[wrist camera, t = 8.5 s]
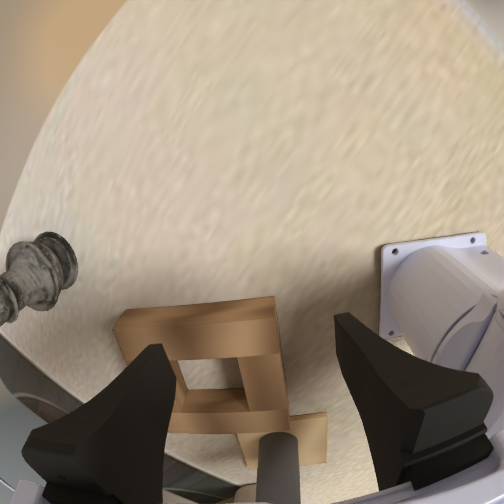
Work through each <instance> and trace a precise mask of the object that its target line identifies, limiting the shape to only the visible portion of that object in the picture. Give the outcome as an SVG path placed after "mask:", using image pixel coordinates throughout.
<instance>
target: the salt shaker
mask: <svg viewBox="0 0 504 504" xmlns="http://www.w3.org/2000/svg"><path fill="white" fill-rule="evenodd" d="M77 275H78V264H77V258H76V256H75V253H74V251H73V249H72V248H71V246H70V244H69V243H68V242H67V241H66V240H65V239H64V238H63V237H62V236H60V235H59V234H57V233H54V232H44V233H42V234H40V235H39V236H38V237H37V238H36V239H35V241H34V242H18V243H16V244H14V245H13V246H12V247H11V248H10V249H9V252H8V254H7V259H6V272H4V273H3V274H1V275H0V326H2V325H3V324H4V323H5V322H8V323H12V322H14V321H15V320H16V319H17V317H18V312H19V311H20V310H22V309H23V308H24V307H25V306H26V305H27V306H28V307H30V308H32V309H34V310H37V311H48V310H50V309H51V308H53V307H54V305H55V304H56V302H57V300H58V296H59V294H60V292H61V290H63V289H67V288H69V287H70V286H72V285H73V284H74V282H75V281H76V278H77Z"/></svg>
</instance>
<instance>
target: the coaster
mask: <svg viewBox="0 0 504 504" xmlns="http://www.w3.org/2000/svg"><path fill="white" fill-rule="evenodd" d="M289 422H290V430H288V431H276V432H286V433H290V434H292V435H294V436H295V437H296V438H297V439H298V453H299V466H302V465H312V464H320V463H326V459H327V414H326V412H323V413H316V414H307V415H298V416H289ZM268 433H272V432H261V433H238V434H237V437H238V440H239V443H240V446H241V449H242V452H243V455H244V458H245V461H246V464H247V467H248V469H257V468H258V452H259V440H260V439H261V437H263V436H264V435H266V434H268Z"/></svg>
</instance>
